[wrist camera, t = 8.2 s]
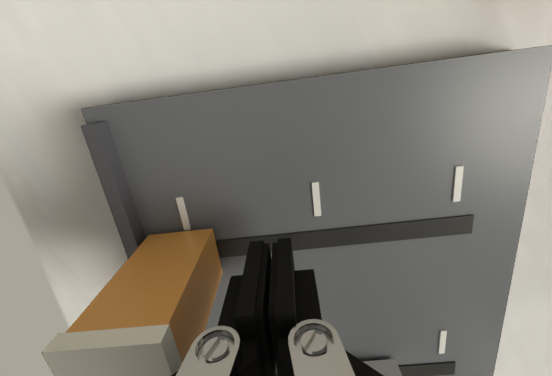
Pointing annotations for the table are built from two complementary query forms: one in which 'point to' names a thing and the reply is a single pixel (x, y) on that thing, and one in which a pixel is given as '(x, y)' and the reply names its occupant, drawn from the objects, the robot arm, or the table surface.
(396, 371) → the grey fader
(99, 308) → the orange fader
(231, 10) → the table surface
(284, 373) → the robot arm
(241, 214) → the fader board
